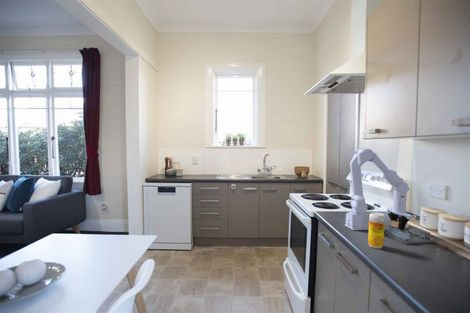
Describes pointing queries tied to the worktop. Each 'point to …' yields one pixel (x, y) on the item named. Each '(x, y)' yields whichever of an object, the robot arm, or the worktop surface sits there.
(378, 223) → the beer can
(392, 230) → the sliding jaw
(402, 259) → the worktop surface
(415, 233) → the vise
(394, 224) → the block
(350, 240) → the worktop surface
